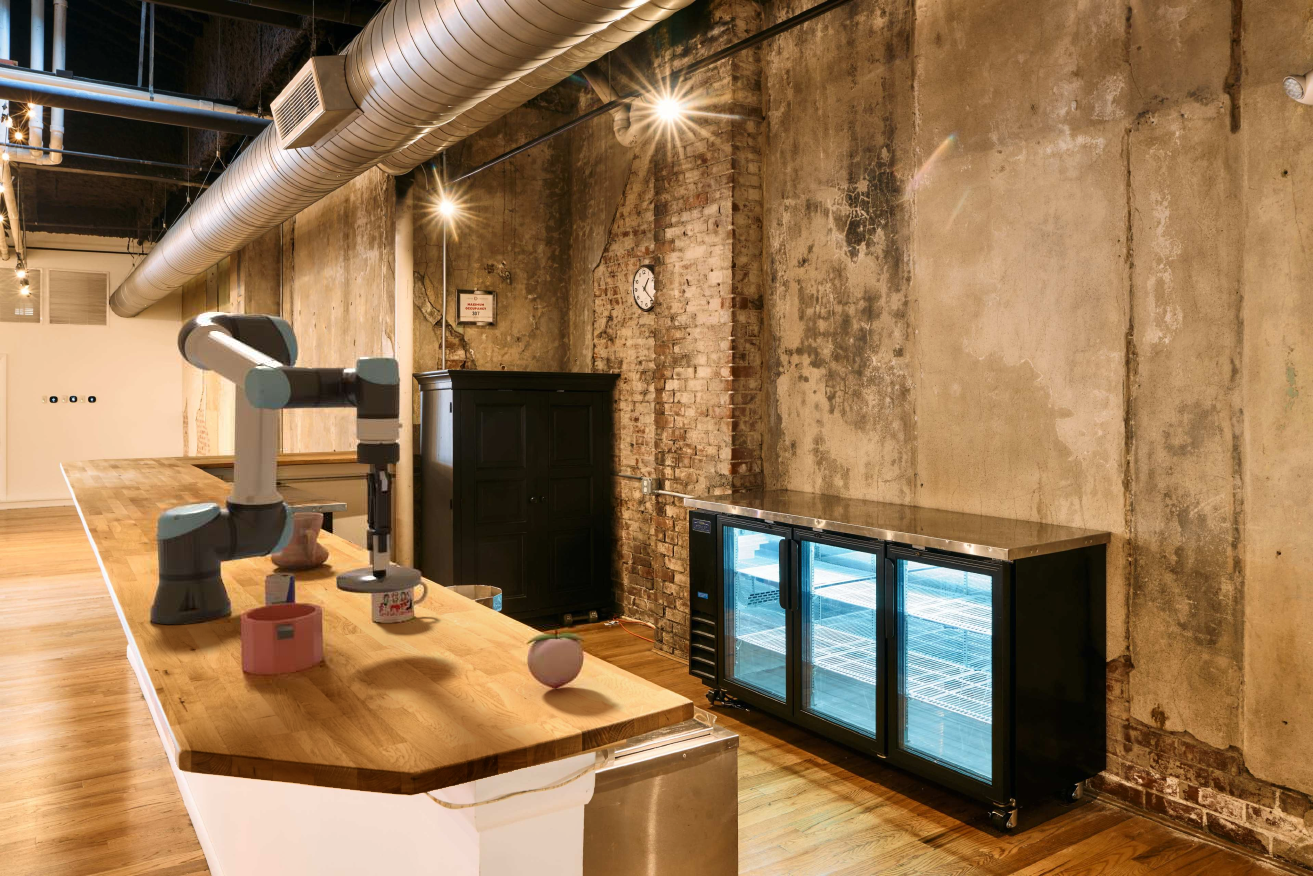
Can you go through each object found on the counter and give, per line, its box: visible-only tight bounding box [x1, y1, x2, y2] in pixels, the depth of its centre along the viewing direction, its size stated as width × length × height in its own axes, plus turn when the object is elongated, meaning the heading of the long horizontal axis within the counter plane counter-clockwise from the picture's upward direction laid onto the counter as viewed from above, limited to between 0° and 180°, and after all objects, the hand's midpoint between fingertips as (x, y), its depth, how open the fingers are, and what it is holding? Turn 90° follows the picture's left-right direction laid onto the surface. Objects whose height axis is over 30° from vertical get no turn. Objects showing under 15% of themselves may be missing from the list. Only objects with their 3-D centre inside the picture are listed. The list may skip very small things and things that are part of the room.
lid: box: [335, 528, 422, 594], centre depth 158 cm, size 15×15×10 cm
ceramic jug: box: [270, 512, 330, 570], centre depth 230 cm, size 18×14×14 cm
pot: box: [240, 601, 324, 676], centre depth 151 cm, size 21×13×9 cm, turn 27°
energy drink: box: [264, 572, 296, 606], centre depth 167 cm, size 5×5×12 cm
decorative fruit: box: [526, 627, 586, 689], centre depth 138 cm, size 9×8×10 cm
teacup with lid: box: [370, 562, 429, 624], centre depth 181 cm, size 12×9×12 cm
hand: (379, 566), depth 158 cm, fingers closed on lid, 4 cm apart
